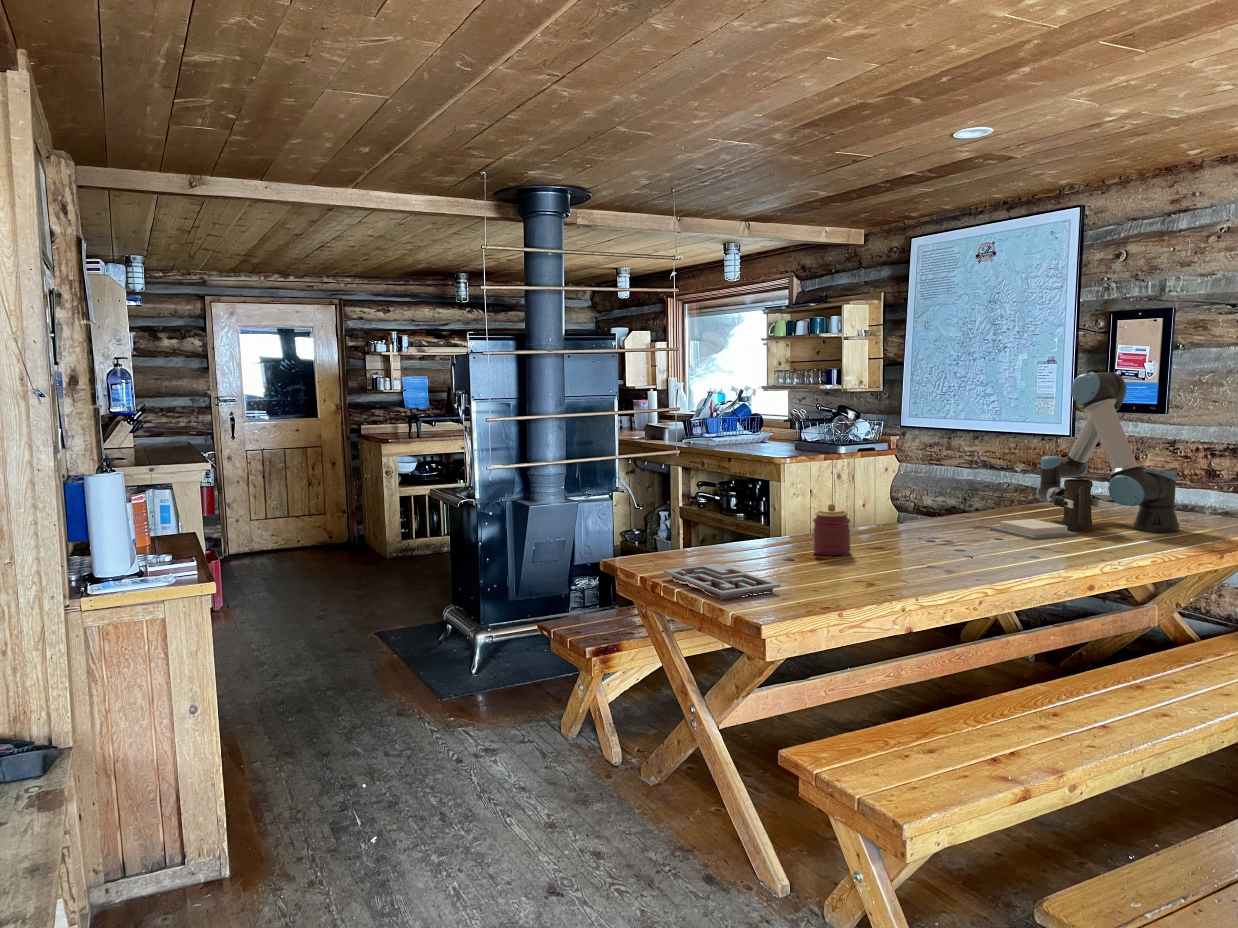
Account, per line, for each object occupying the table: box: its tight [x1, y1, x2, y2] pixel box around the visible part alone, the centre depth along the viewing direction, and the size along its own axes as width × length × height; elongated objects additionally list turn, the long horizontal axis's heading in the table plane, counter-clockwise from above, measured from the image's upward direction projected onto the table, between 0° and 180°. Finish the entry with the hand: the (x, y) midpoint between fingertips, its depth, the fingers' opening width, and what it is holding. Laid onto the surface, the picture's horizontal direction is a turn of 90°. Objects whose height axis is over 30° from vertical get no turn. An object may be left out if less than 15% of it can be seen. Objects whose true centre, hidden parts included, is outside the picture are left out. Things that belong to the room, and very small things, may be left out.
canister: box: [812, 503, 852, 557], centre depth 312 cm, size 13×13×18 cm
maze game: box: [663, 562, 782, 601], centre depth 268 cm, size 35×20×3 cm, turn 25°
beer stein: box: [1062, 478, 1094, 533], centre depth 341 cm, size 15×11×20 cm
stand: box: [989, 518, 1079, 540], centre depth 341 cm, size 20×24×4 cm
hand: (1085, 504), depth 337 cm, fingers closed on beer stein, 9 cm apart
